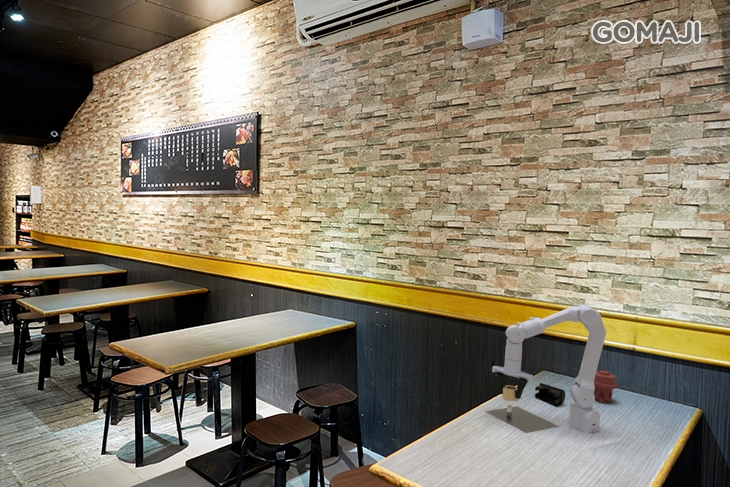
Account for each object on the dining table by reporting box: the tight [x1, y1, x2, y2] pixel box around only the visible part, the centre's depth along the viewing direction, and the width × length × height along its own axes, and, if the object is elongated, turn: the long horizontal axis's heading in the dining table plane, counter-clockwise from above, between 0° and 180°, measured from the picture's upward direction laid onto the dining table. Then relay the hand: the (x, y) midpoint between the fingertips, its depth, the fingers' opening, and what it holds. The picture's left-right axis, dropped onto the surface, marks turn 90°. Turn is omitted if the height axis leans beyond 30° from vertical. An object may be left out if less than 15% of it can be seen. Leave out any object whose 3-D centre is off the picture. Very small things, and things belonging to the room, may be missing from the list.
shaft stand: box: [485, 404, 560, 434], centre depth 174 cm, size 20×16×6 cm
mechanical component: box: [594, 370, 618, 404], centre depth 204 cm, size 12×10×10 cm
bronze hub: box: [502, 384, 519, 402], centre depth 175 cm, size 5×5×4 cm
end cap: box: [534, 382, 566, 408], centre depth 198 cm, size 10×7×7 cm
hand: (510, 396), depth 175 cm, fingers closed on bronze hub, 6 cm apart
